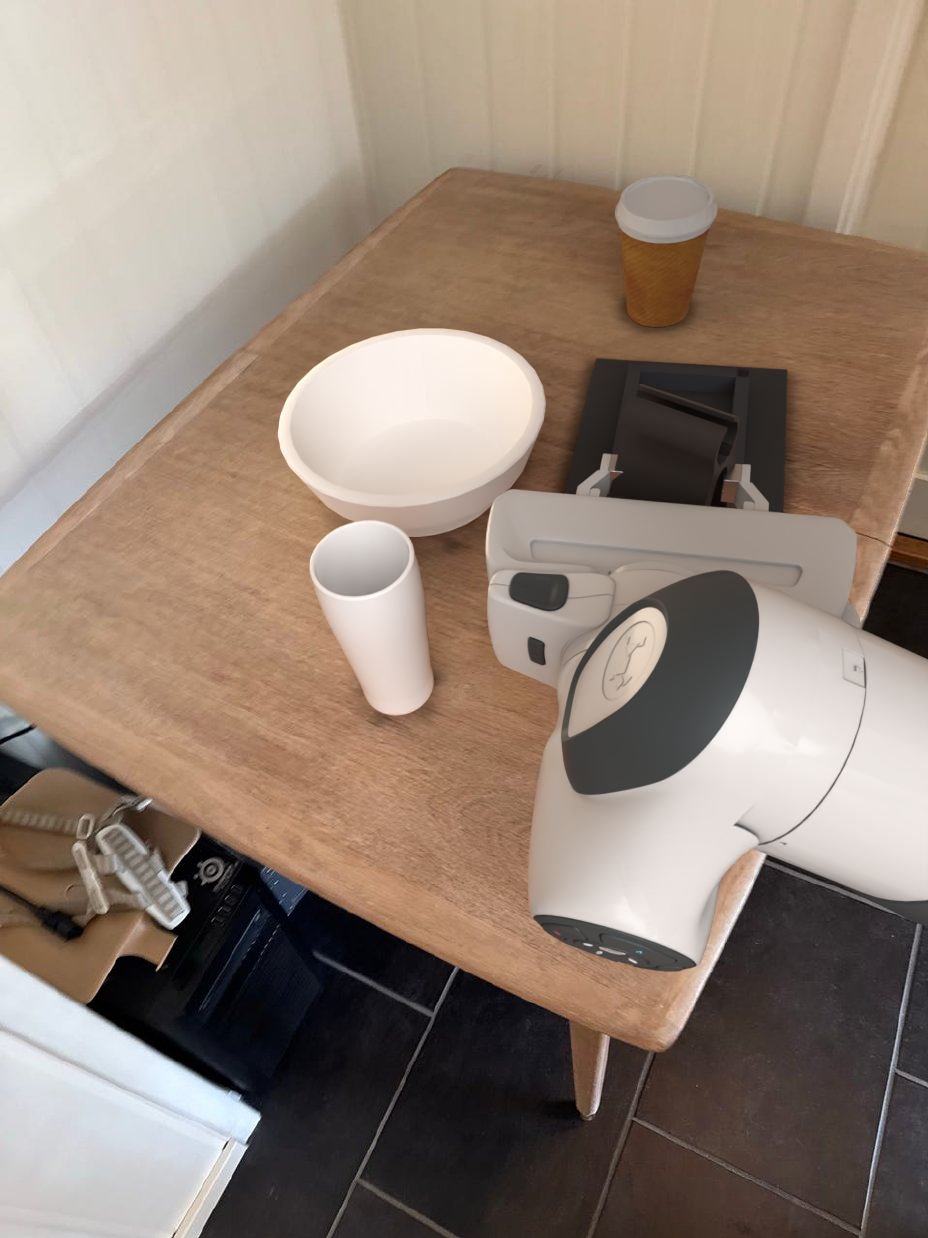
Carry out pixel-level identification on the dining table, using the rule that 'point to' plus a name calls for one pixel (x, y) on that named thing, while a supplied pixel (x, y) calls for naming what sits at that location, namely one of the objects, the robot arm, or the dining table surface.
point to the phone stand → (674, 450)
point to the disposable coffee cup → (663, 244)
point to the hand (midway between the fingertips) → (674, 466)
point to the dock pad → (719, 387)
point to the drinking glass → (376, 611)
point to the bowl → (414, 427)
